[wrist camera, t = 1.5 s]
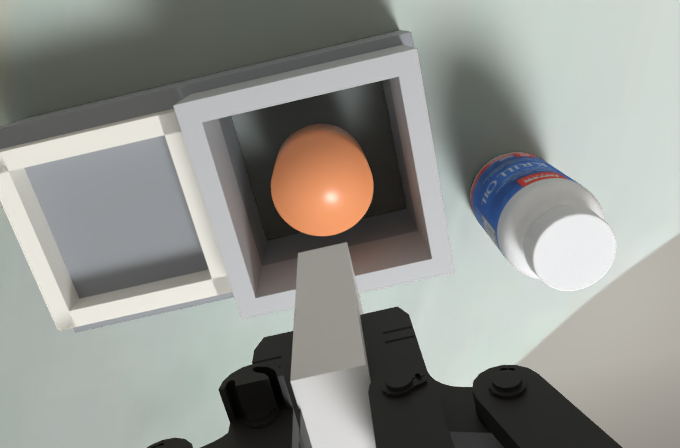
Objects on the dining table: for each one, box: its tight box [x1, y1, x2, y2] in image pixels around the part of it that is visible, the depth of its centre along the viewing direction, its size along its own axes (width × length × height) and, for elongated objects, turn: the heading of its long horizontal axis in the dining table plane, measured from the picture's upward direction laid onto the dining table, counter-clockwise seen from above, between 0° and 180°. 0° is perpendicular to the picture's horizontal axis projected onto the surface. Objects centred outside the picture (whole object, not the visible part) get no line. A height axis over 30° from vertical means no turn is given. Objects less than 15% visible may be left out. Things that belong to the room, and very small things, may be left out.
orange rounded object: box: [271, 123, 373, 236], centre depth 30 cm, size 5×5×4 cm
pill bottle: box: [470, 152, 616, 291], centre depth 32 cm, size 6×5×10 cm
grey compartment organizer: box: [0, 30, 455, 333], centre depth 31 cm, size 22×12×8 cm, turn 103°
